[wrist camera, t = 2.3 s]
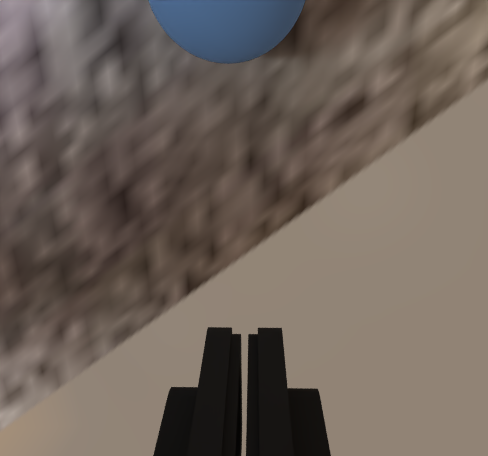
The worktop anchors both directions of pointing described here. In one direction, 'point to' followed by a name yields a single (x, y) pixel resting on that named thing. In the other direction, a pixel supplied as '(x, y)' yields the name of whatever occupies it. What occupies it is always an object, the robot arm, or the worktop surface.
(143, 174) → the worktop surface
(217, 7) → the ball
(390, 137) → the worktop surface
